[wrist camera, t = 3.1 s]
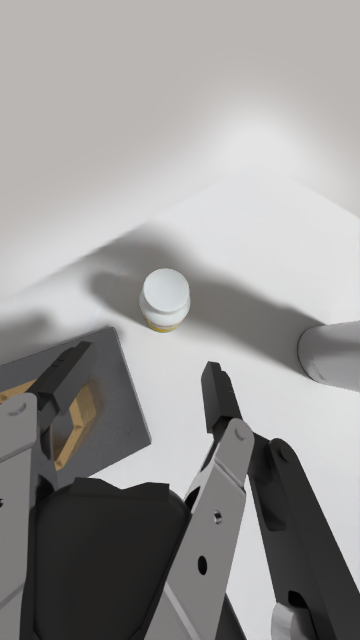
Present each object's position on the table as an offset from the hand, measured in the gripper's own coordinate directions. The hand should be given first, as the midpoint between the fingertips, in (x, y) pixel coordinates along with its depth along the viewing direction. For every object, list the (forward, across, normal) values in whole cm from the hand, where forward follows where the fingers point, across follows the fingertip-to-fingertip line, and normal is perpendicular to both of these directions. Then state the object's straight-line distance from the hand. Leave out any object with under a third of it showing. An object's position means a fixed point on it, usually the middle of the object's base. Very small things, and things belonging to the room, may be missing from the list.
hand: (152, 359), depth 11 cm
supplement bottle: (+12, 0, +3) cm, 12 cm away
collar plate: (+1, +10, +13) cm, 17 cm away
